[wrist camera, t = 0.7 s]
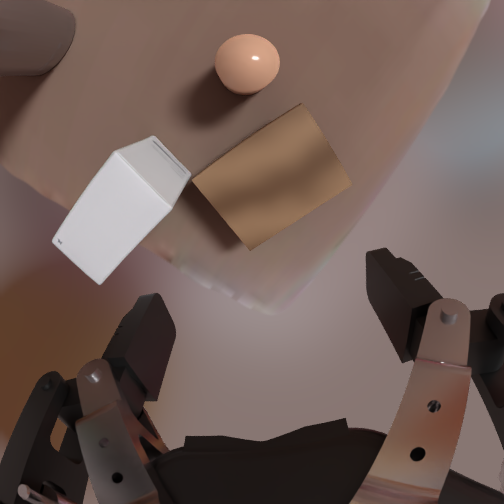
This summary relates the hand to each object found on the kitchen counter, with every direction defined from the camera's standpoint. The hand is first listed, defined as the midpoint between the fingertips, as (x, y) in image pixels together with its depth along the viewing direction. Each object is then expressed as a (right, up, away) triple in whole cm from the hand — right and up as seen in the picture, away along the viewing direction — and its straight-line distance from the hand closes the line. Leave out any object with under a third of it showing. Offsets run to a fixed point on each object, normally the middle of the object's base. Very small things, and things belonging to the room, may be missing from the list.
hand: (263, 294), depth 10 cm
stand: (+1, +10, +18) cm, 20 cm away
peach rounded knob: (-1, +19, +13) cm, 23 cm away
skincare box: (-12, +9, +18) cm, 23 cm away
